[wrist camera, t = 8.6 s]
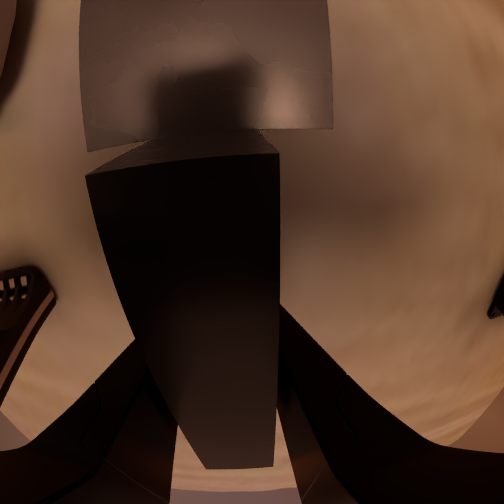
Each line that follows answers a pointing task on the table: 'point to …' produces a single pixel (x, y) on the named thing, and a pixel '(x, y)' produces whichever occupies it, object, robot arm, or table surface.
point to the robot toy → (6, 27)
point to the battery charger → (20, 318)
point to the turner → (201, 194)
